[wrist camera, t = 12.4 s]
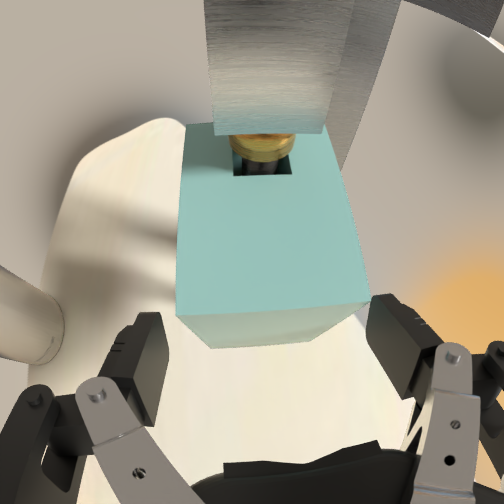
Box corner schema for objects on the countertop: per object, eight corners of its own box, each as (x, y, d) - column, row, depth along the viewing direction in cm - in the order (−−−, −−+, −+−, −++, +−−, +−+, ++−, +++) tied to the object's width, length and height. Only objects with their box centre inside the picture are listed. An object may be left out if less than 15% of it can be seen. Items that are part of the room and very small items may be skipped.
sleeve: (309, 341, 15) (371, 301, 7) (211, 348, 14) (175, 315, 7) (294, 225, 17) (323, 121, 10) (207, 230, 17) (186, 124, 10)
